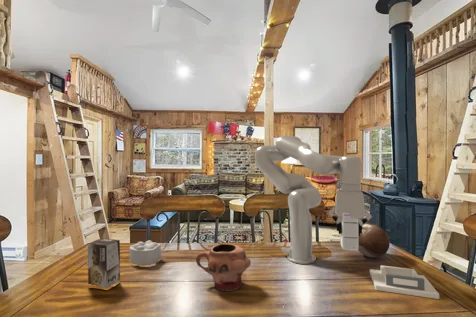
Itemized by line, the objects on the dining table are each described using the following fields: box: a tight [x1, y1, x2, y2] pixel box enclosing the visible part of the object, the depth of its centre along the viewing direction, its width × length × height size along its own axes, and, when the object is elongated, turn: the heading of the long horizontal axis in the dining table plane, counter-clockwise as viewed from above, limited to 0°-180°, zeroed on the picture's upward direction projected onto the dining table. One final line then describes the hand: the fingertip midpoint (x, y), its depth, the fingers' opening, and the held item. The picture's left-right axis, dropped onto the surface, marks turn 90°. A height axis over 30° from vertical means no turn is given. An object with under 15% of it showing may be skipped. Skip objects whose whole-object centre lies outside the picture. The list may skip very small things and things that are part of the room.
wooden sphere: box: [357, 222, 391, 259], centre depth 117 cm, size 15×15×15 cm
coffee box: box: [87, 237, 121, 288], centre depth 92 cm, size 9×6×16 cm
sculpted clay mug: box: [195, 243, 252, 292], centre depth 91 cm, size 20×12×14 cm, turn 88°
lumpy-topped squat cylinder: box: [129, 240, 162, 265], centre depth 113 cm, size 10×13×9 cm
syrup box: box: [339, 213, 359, 252], centre depth 98 cm, size 6×6×14 cm
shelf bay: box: [369, 264, 440, 300], centre depth 90 cm, size 18×14×5 cm
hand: (349, 233), depth 98 cm, fingers closed on syrup box, 6 cm apart
